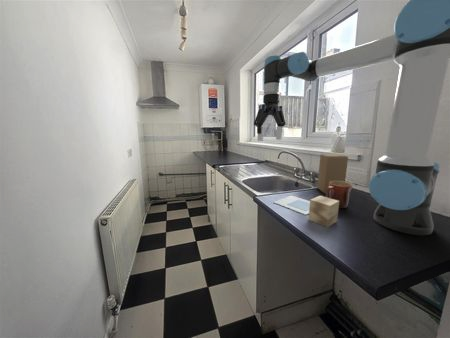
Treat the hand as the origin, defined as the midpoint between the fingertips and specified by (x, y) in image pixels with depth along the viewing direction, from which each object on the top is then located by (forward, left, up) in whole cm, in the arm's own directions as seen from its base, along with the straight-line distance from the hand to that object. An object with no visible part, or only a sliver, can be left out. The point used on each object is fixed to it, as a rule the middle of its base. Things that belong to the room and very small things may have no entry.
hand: (269, 140), depth 91 cm
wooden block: (-17, -30, -28) cm, 45 cm away
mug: (-28, -11, -28) cm, 41 cm away
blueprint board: (-17, 0, -28) cm, 33 cm away
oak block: (-31, +6, -28) cm, 42 cm away
